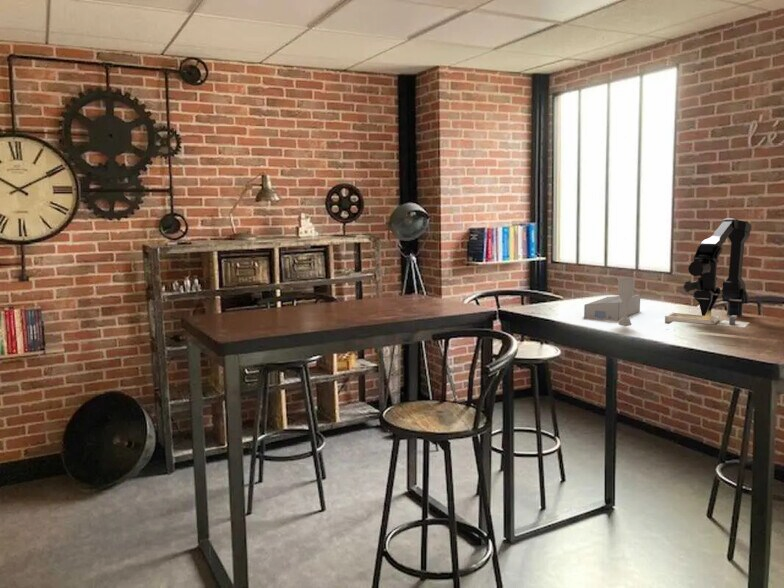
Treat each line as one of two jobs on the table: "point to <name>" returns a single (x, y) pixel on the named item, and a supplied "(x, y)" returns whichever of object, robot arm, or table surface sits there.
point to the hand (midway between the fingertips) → (706, 314)
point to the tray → (673, 317)
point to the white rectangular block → (733, 322)
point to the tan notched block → (707, 316)
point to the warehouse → (611, 308)
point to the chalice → (626, 296)
